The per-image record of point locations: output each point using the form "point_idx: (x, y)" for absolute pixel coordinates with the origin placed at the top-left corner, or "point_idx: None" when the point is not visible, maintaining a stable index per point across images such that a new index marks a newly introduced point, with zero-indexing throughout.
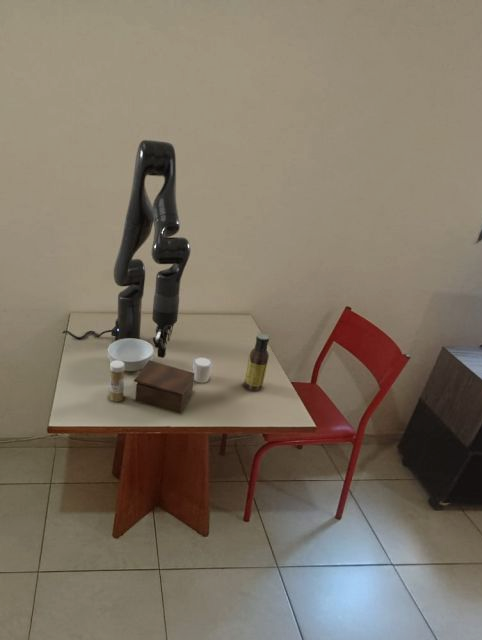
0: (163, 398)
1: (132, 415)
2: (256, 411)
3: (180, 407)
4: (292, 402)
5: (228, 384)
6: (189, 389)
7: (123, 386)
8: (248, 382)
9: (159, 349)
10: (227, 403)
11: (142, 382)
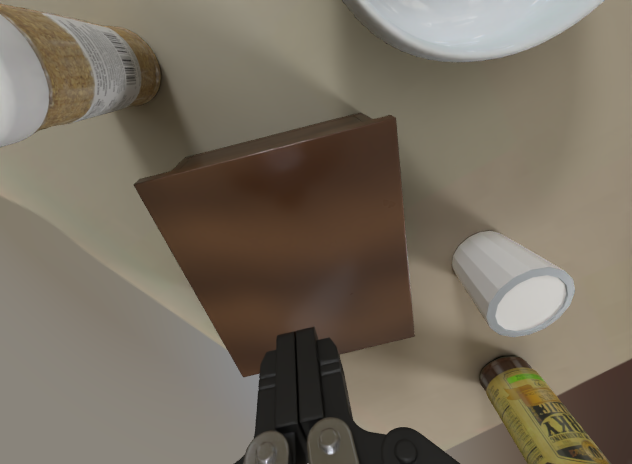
0: None
1: (105, 205)
2: (392, 412)
3: None
4: (469, 437)
5: (482, 328)
6: None
7: (115, 109)
8: (494, 387)
9: (259, 427)
10: (386, 364)
11: (161, 230)
